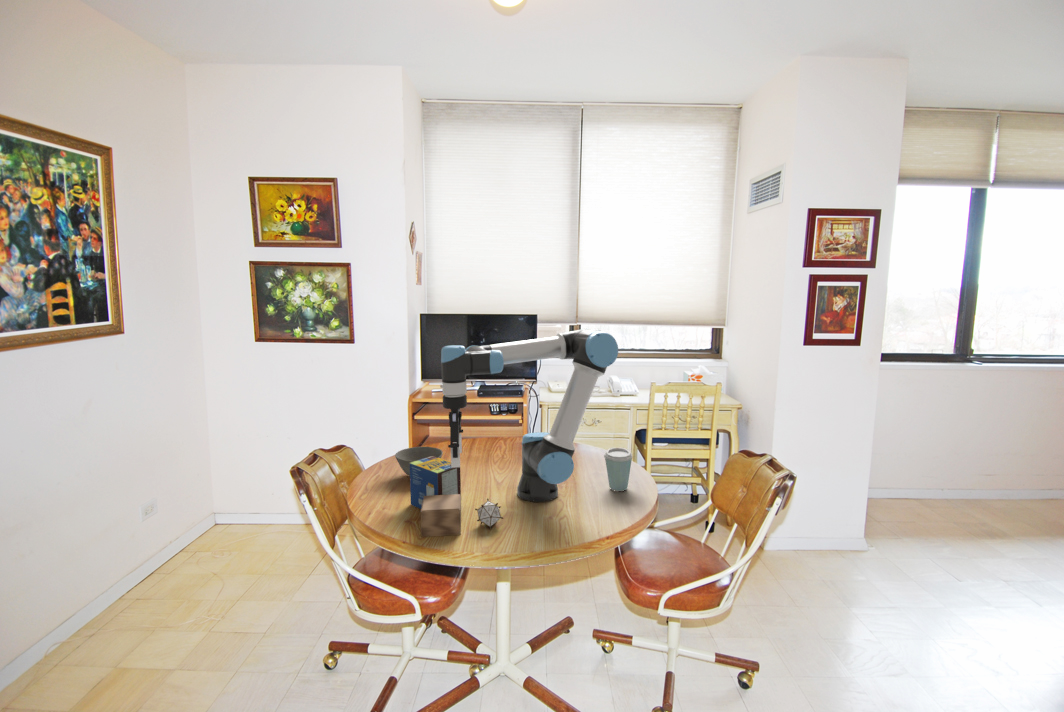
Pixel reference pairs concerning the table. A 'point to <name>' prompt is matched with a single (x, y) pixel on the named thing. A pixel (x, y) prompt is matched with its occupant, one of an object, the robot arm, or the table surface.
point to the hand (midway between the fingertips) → (456, 459)
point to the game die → (489, 513)
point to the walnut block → (441, 515)
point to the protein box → (432, 479)
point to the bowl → (415, 456)
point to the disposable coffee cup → (618, 467)
